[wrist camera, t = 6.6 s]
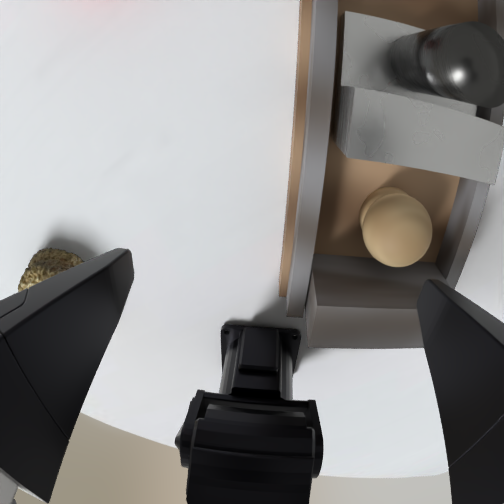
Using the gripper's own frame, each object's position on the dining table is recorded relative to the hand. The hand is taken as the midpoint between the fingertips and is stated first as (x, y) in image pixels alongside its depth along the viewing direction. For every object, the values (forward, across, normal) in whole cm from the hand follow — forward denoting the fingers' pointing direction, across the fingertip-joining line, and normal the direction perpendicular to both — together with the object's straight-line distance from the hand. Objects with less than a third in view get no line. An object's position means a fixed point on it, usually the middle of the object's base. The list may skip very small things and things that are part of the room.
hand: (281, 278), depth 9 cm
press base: (+12, -6, -4) cm, 14 cm away
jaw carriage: (+9, -6, -6) cm, 13 cm away
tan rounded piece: (+10, -7, +1) cm, 12 cm away
